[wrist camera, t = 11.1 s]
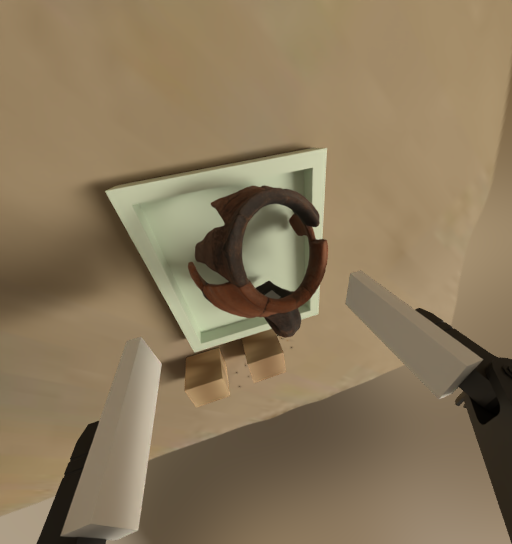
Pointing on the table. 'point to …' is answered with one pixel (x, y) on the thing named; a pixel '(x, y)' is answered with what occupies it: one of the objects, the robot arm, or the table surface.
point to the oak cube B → (264, 355)
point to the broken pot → (228, 260)
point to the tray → (203, 218)
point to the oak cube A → (206, 377)
